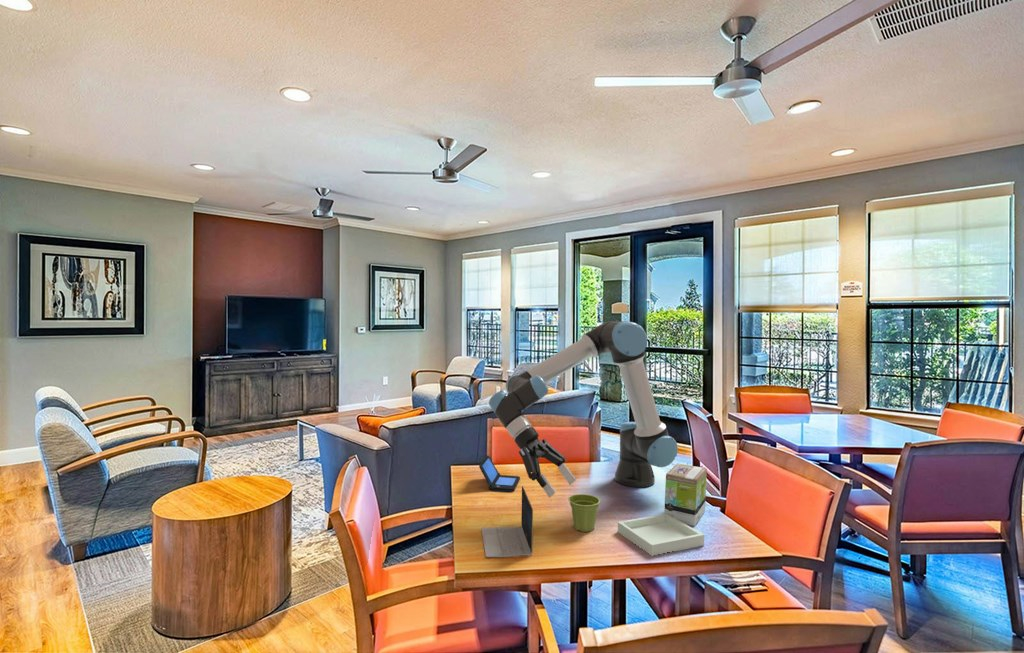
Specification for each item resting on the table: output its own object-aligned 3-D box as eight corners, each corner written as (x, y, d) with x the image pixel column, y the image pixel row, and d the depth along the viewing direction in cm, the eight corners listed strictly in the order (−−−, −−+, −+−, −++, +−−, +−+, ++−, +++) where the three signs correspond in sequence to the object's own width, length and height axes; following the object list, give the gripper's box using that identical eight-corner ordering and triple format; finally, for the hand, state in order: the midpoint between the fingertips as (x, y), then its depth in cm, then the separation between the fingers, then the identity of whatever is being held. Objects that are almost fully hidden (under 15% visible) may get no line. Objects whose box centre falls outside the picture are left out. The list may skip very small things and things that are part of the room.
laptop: (481, 530, 149) (481, 487, 148) (522, 528, 150) (523, 485, 150) (485, 559, 131) (486, 510, 131) (532, 557, 132) (533, 508, 132)
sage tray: (666, 523, 155) (666, 513, 155) (704, 545, 140) (704, 534, 140) (617, 531, 148) (617, 521, 148) (651, 556, 133) (652, 545, 133)
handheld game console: (513, 493, 180) (514, 467, 180) (478, 490, 182) (478, 465, 182) (520, 479, 196) (520, 456, 195) (487, 477, 198) (487, 453, 198)
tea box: (696, 527, 152) (697, 479, 152) (663, 519, 158) (664, 473, 157) (706, 511, 165) (707, 466, 165) (675, 504, 170) (676, 461, 170)
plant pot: (574, 535, 145) (574, 506, 145) (564, 522, 154) (564, 495, 154) (604, 533, 147) (604, 504, 147) (592, 520, 156) (593, 493, 156)
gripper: (535, 432, 173) (573, 484, 165) (493, 447, 152) (535, 507, 144) (548, 419, 170) (588, 471, 162) (508, 433, 149) (551, 493, 141)
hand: (563, 488), depth 153 cm, fingers open, 13 cm apart
